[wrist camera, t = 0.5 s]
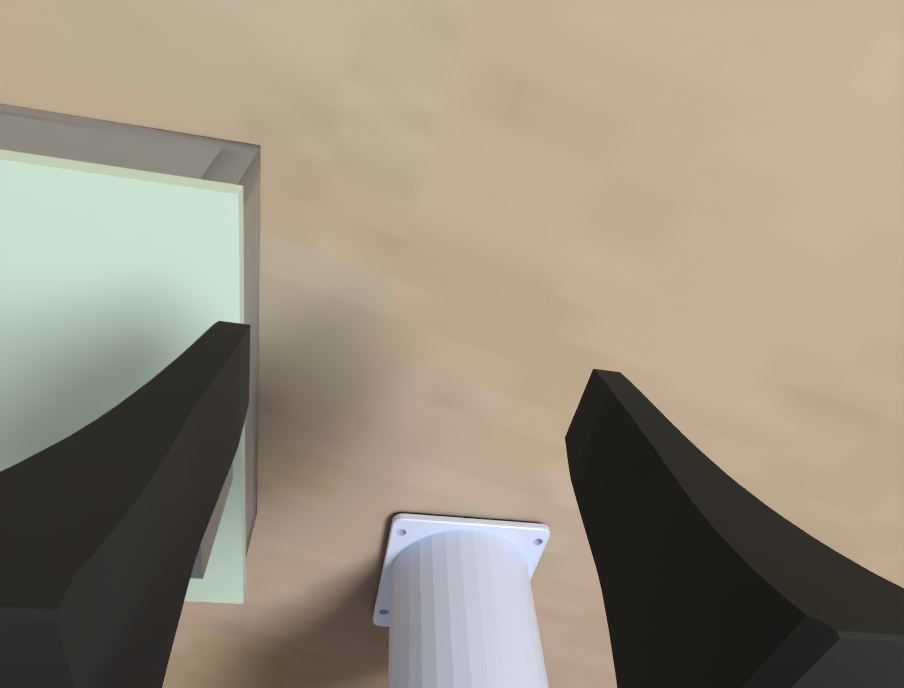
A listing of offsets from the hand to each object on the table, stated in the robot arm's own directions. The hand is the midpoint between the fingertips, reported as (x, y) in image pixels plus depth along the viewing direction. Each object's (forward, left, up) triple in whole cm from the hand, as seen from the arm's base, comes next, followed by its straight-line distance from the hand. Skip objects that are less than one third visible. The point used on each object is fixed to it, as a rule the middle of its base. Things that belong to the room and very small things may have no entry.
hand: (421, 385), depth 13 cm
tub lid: (-8, +11, -6) cm, 15 cm away
